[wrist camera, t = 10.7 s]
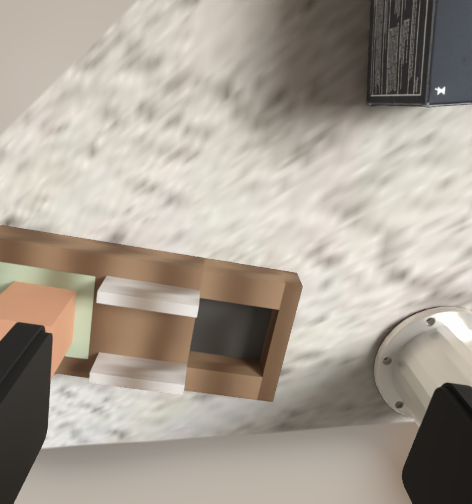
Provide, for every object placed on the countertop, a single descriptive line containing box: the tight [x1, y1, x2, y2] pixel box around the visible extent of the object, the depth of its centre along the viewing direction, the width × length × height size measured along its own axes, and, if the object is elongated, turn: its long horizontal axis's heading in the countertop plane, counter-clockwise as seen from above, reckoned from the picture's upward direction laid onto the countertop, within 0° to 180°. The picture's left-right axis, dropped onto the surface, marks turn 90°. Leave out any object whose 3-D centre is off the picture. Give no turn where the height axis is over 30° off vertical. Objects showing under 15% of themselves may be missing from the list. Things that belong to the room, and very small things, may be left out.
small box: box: [367, 0, 472, 107], centre depth 29 cm, size 11×6×10 cm, turn 3°
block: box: [0, 281, 77, 380], centre depth 34 cm, size 5×5×6 cm
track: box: [0, 225, 303, 402], centre depth 38 cm, size 26×12×6 cm, turn 79°
